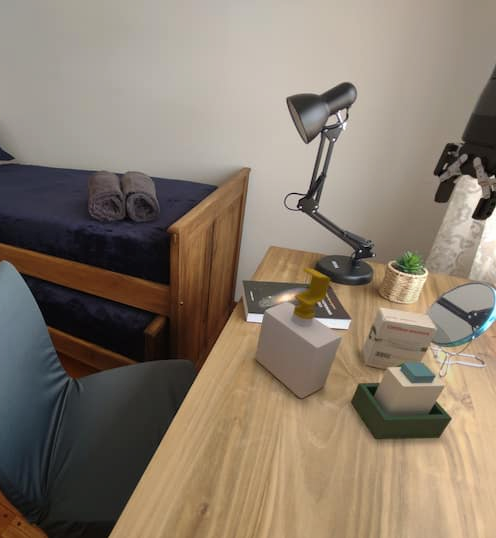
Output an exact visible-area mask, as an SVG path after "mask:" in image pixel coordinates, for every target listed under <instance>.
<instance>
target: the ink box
mask: <svg viewBox="0 0 496 538" xmlns="http://www.w3.org/2000/svg"><path fill="white" fill-rule="evenodd" d="M437 332H438V328H437V327H436V324H435V323H434V321H433V319H432V318H431V316H430V315H429V314H424V313H418V312H411V311H405V310H399V309H394V308H393V309H392V308H387V307H380V306H379V307H378V309H377V312H376V315H375V317H374V319H373V322H372V324H371V327H370V330H369V332H368V335H367V338H366V340H365V342H364V345H363V347H362V350H361V353H362V354H361V355H362V358H363V362H364V365H365V366H367V367H370V368H371V367H373V368H376V369H381V370H386V369H387V368H388V367H401V366H402V364H403V363H422V361H423V359H424V357H425V356H426V353H427V351H428V349H429V347H430V345H431V344H432V341H433V339H434V337H435V335H436V334H437Z"/></svg>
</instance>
